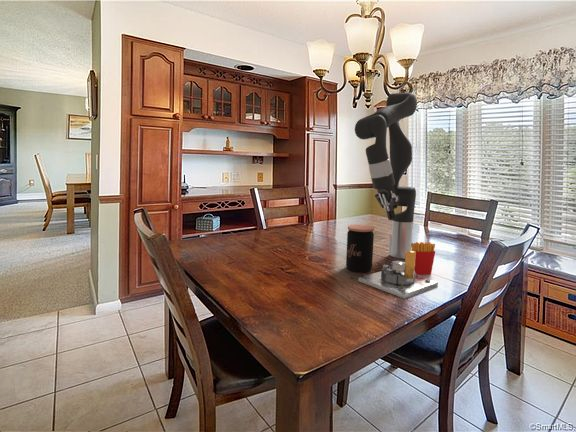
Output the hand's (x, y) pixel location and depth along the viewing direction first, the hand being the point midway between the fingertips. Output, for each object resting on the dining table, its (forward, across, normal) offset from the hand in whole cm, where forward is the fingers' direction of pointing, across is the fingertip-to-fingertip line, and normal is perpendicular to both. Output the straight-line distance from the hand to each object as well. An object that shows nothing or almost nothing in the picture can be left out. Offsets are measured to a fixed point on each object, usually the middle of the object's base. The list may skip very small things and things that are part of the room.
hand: (392, 219), depth 125 cm
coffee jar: (+22, -18, -10) cm, 30 cm away
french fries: (+29, -6, +10) cm, 31 cm away
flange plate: (+24, +2, -5) cm, 24 cm away
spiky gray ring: (+22, +5, -5) cm, 23 cm away
